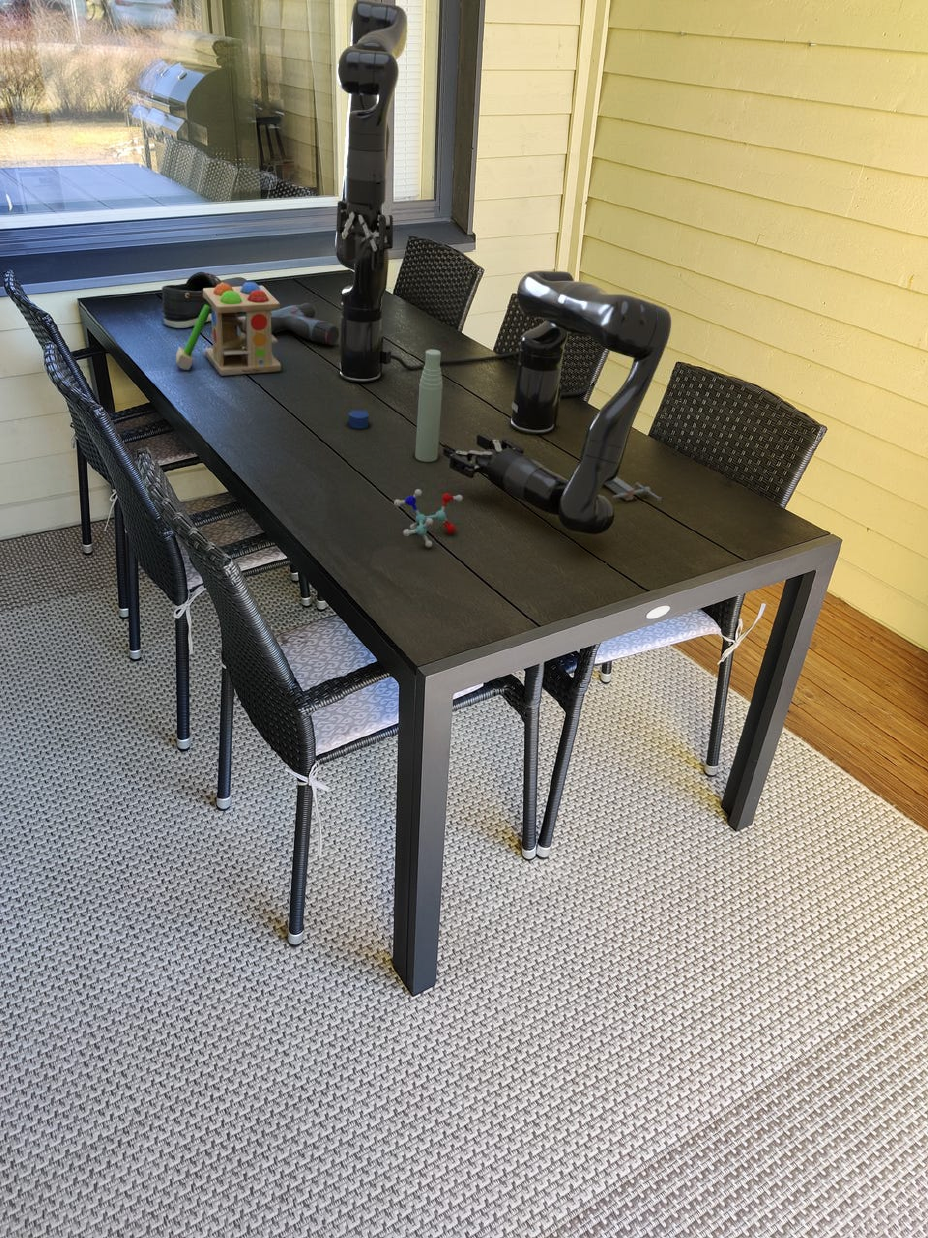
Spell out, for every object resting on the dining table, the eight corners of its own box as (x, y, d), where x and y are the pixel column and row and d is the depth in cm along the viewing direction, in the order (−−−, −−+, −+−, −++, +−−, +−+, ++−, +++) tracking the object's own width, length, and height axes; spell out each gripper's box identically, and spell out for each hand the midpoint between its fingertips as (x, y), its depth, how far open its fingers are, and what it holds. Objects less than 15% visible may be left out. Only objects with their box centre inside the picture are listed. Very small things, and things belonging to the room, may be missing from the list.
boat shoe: (271, 306, 270) (269, 267, 265) (181, 330, 246) (177, 288, 241) (236, 297, 276) (233, 259, 271) (146, 320, 252) (141, 279, 247)
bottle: (411, 458, 197) (417, 352, 185) (421, 450, 200) (427, 346, 188) (431, 463, 196) (439, 357, 183) (440, 455, 199) (448, 350, 187)
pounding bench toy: (183, 379, 220) (176, 299, 210) (169, 357, 231) (162, 280, 221) (282, 371, 230) (280, 294, 220) (264, 350, 240) (262, 276, 230)
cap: (365, 430, 206) (366, 418, 205) (346, 427, 207) (347, 416, 205) (370, 422, 210) (370, 411, 208) (351, 420, 210) (351, 409, 209)
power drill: (365, 313, 253) (305, 296, 261) (318, 330, 240) (256, 311, 248) (364, 334, 256) (305, 316, 264) (318, 351, 243) (257, 332, 251)
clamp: (576, 469, 194) (616, 461, 198) (574, 479, 195) (614, 471, 199) (622, 503, 183) (664, 494, 188) (620, 513, 184) (661, 504, 189)
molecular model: (452, 541, 163) (433, 483, 162) (403, 556, 167) (383, 500, 165) (474, 530, 174) (456, 475, 172) (427, 544, 177) (409, 492, 176)
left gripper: (325, 168, 183) (325, 257, 192) (373, 183, 174) (371, 276, 183) (357, 165, 187) (356, 253, 196) (406, 180, 179) (401, 271, 188)
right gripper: (550, 448, 180) (490, 417, 190) (493, 466, 172) (434, 433, 182) (544, 485, 185) (486, 453, 194) (489, 504, 176) (431, 469, 186)
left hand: (363, 264), depth 190 cm, fingers open, 8 cm apart
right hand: (461, 443), depth 188 cm, fingers open, 8 cm apart
